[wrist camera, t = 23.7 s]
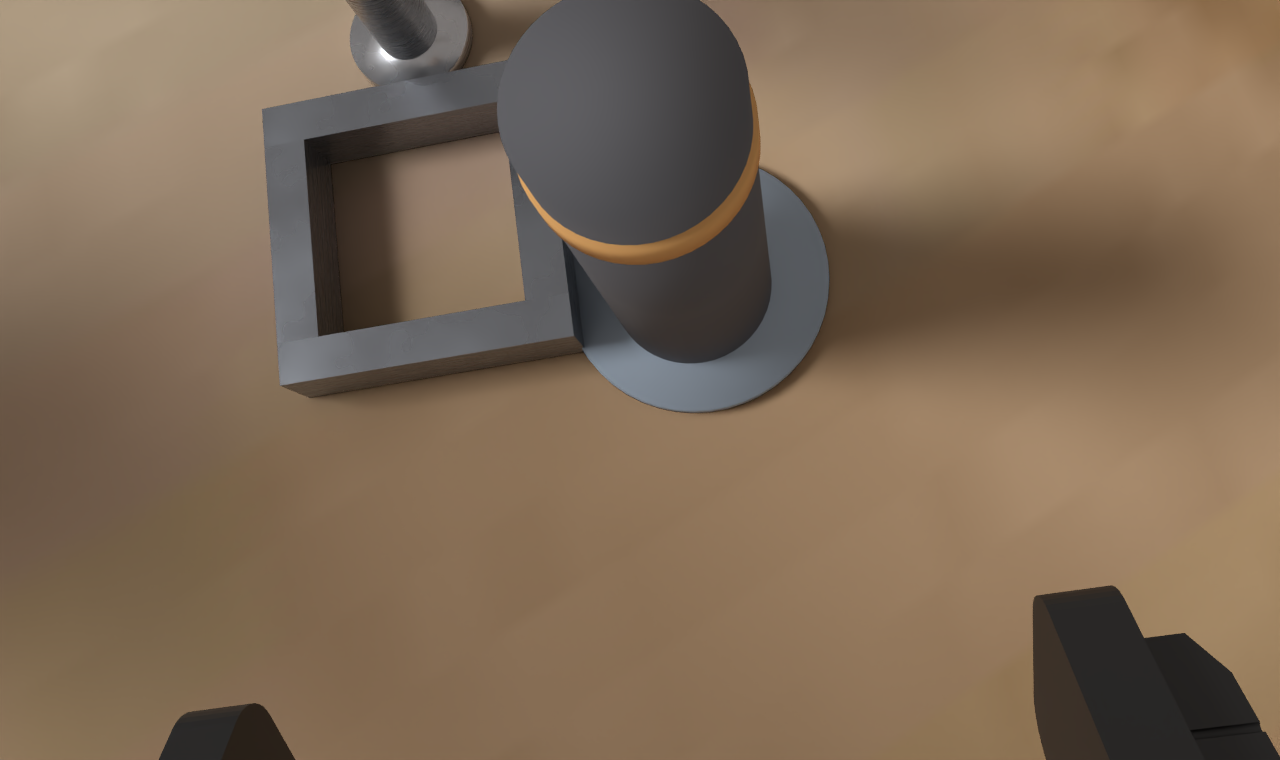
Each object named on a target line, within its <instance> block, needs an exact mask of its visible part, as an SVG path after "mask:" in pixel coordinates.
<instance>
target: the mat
mask: <svg viewBox="0 0 1280 760" xmlns="http://www.w3.org/2000/svg"><path fill="white" fill-rule="evenodd" d="M759 174H760V183H761V191H762V200H763V209H764V218H765V226H766V235H767V244H768V253H769V261H770V270H771V279H772V290H771V297H770V302H769V306H768V309H767V312H766V314H765V316H764V318H763V320H762V322H761V324H760V325H759V327H758V329H757V330H756V331H755V332H754V334H753V335H752V336H751V337H750V338H749V339H748V340H747V341H746V342H745V343H744V344H743V345H741V346H740V347H739V348H737V349H736V350H735V351H733V352H731V353H729V354H727V355H726V356H723V357H721V358H718V359H716V360H712V361H708V362H703V363H677V362H672V361H668V360H664V359H662V358H659V357H657V356H655V355H653V354H651V353H649V352H648V351H646V350H645V349H643V348H642V347H641V346H640V345H638V344H637V343H636V342H635V341H634V340H633V339H632V338H631V337H630V335H629V334H628V333H627V331H626V330H625V329H624V327H623V326H622V324H621V323H620V321H619V320H618V318H617V317H616V315H615V314H614V313H613V311H612V310H611V308H610V307H609V305H608V304H607V302H606V301H605V299H604V298H603V297H602V295H601V294H600V292H599V291H598V289H597V288H596V286H595V285H594V284H593V282H592V281H591V279H590V278H589V276H588V275H587V273H586V272H585V270H584V269H583V268H582V266H581V265H580V263H579V262H578V260H577V259H576V257H575V256H574V254H573V260H574V267H575V275H576V283H577V291H578V299H579V307H580V315H581V323H582V331H583V339H584V346H585V348H583V349H582V350H583V351H584V353H585V354H586V356H587V357H588V359H589V360H590V361H591V363H592V364H593V365H594V366H595V367H596V369H597V370H598V371H599V372H600V373H601V374H602V375H603V376H604V377H605V378H606V379H607V380H608V381H609V382H610V383H612V384H613V385H614V386H615V387H617V388H618V389H620V390H621V391H623V392H624V393H625V394H627V395H629V396H631V397H633V398H635V399H637V400H638V401H640V402H642V403H645V404H648V405H651V406H654V407H657V408H660V409H665V410H670V411H675V412H686V413H703V412H714V411H719V410H724V409H729V408H732V407H735V406H738V405H741V404H744V403H747V402H749V401H751V400H753V399H755V398H757V397H759V396H761V395H763V394H764V393H766V392H767V391H769V390H770V389H772V388H774V387H775V386H776V385H778V384H779V383H780V382H781V381H782V380H784V379H785V378H786V377H787V376H788V375H789V374H790V373H791V372H792V371H793V370H794V369H795V368H796V367H797V366H798V364H799V363H800V362H801V361H802V360H803V358H804V357H805V355H806V354H807V352H808V351H809V349H810V348H811V346H812V344H813V342H814V340H815V338H816V337H817V335H818V333H819V330H820V327H821V324H822V322H823V319H824V316H825V311H826V306H827V301H828V291H829V266H828V258H827V254H826V249H825V245H824V242H823V239H822V236H821V234H820V231H819V229H818V227H817V225H816V223H815V221H814V219H813V217H812V215H811V214H810V212H809V211H808V210H807V208H806V207H805V205H804V204H803V203H802V201H801V200H800V199H799V198H798V197H797V196H796V195H795V194H794V193H793V192H792V191H791V190H790V189H789V188H788V187H787V186H786V185H784V184H783V183H782V182H781V181H779V180H778V179H777V178H775V177H774V176H772V175H770V174H769V173H767V172H765V171H764V170H762V169H759Z"/></svg>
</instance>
